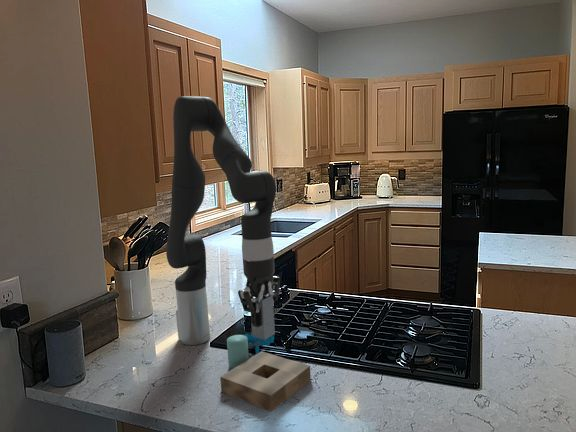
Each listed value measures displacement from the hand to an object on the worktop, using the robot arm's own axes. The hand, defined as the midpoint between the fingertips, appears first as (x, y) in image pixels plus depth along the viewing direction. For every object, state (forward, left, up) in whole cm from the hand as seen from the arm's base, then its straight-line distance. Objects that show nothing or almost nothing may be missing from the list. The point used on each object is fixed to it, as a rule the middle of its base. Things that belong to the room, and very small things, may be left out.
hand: (262, 322), depth 115 cm
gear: (-15, +13, -17) cm, 26 cm away
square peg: (0, 0, -3) cm, 3 cm away
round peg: (-13, +4, -17) cm, 22 cm away
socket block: (0, 0, -17) cm, 17 cm away
